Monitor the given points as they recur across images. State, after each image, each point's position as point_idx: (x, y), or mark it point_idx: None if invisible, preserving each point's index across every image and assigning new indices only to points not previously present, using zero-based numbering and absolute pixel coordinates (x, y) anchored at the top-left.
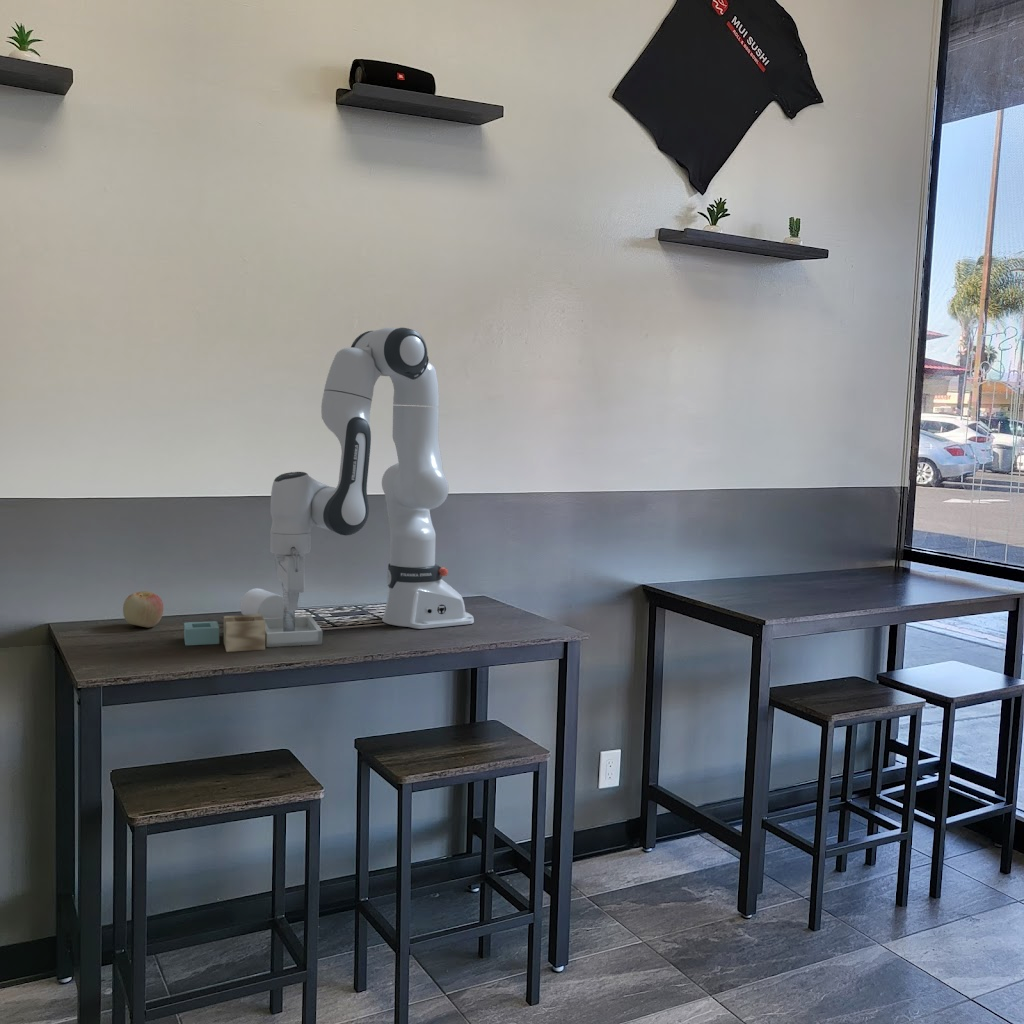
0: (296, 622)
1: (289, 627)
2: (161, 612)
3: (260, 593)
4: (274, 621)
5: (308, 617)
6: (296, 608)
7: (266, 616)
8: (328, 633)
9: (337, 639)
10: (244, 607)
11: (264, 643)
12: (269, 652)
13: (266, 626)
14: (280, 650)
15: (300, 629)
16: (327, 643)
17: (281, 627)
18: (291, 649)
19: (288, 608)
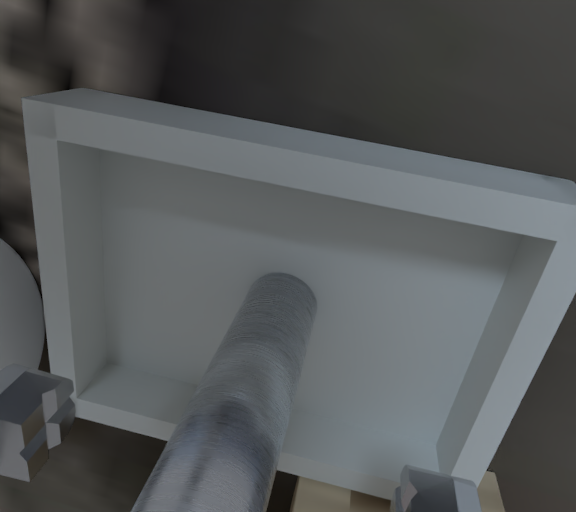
0: (84, 209)
1: (308, 343)
2: None
3: None
4: (84, 337)
5: (68, 136)
6: (473, 496)
7: (4, 360)
8: (253, 10)
9: (480, 9)
10: None
11: (499, 503)
12: (561, 477)
13: None
14: (554, 427)
15: (179, 202)
16: (560, 133)
17: (104, 282)
18: (570, 379)
19: (280, 454)
